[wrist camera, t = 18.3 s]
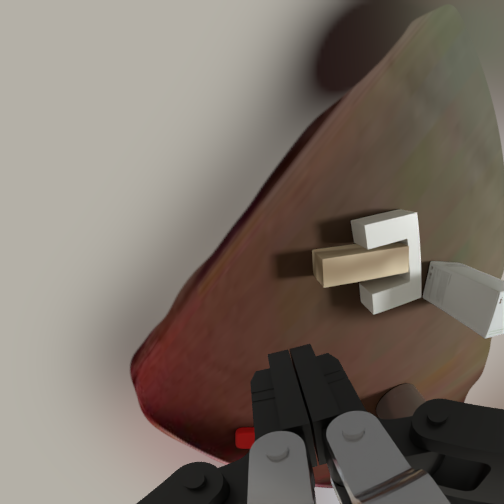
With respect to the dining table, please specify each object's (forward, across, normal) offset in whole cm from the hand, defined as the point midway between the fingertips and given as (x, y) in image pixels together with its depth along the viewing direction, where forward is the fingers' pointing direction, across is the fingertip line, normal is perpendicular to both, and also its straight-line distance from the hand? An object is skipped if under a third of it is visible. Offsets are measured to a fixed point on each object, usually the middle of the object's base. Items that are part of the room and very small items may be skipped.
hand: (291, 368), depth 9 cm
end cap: (+27, -17, +7) cm, 33 cm away
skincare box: (+27, -29, +14) cm, 42 cm away
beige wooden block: (+27, -13, +6) cm, 31 cm away
